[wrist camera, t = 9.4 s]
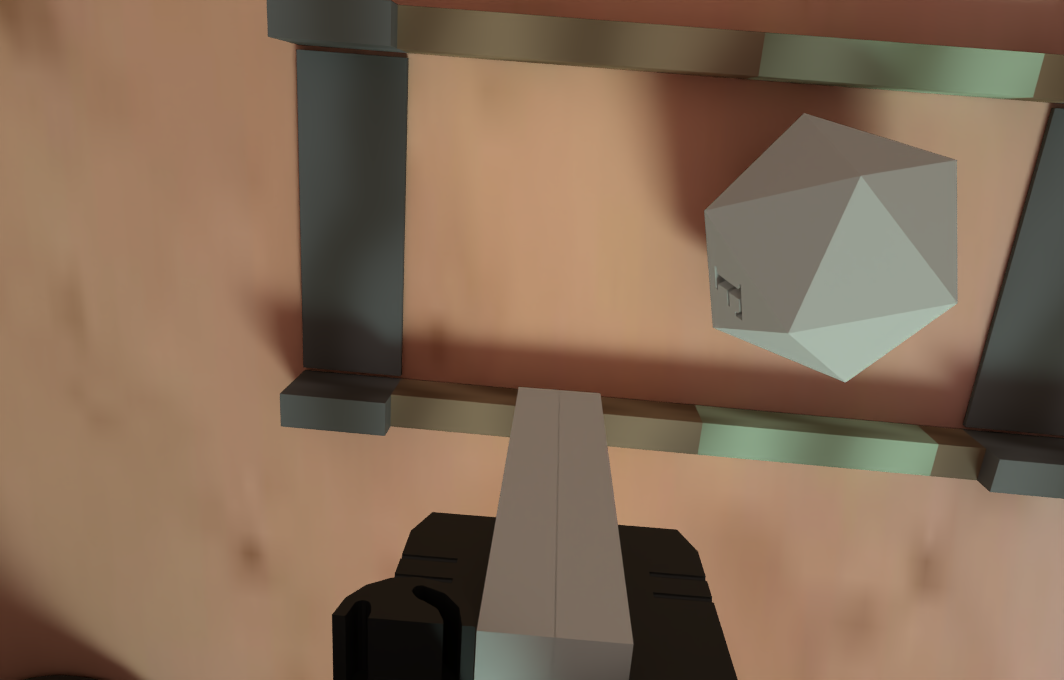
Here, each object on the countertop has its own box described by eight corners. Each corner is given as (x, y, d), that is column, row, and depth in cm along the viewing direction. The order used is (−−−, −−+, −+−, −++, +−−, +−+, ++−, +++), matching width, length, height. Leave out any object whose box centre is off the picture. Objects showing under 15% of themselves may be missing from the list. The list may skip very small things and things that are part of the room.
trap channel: (305, 399, 33) (280, 426, 31) (297, 3, 28) (266, -9, 25) (1131, 475, 32) (1186, 509, 30) (1277, 77, 27) (1360, 73, 24)
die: (742, 84, 29) (645, 207, 23) (1002, 79, 24) (968, 233, 18) (748, 259, 34) (670, 399, 28) (964, 283, 30) (927, 456, 23)
